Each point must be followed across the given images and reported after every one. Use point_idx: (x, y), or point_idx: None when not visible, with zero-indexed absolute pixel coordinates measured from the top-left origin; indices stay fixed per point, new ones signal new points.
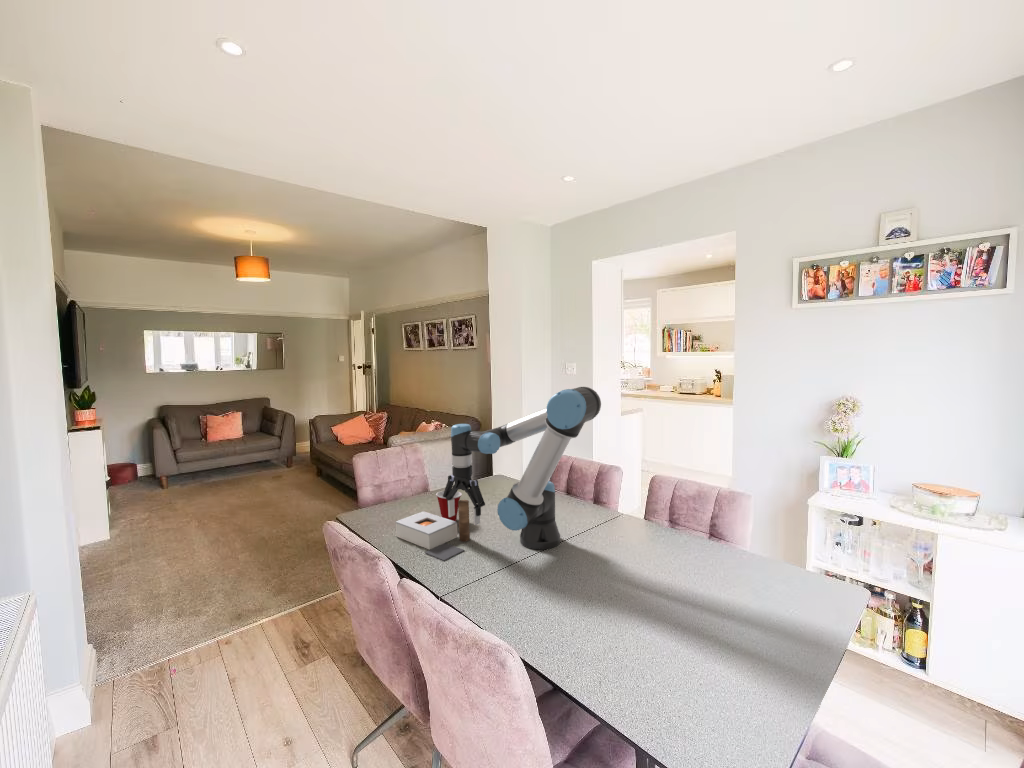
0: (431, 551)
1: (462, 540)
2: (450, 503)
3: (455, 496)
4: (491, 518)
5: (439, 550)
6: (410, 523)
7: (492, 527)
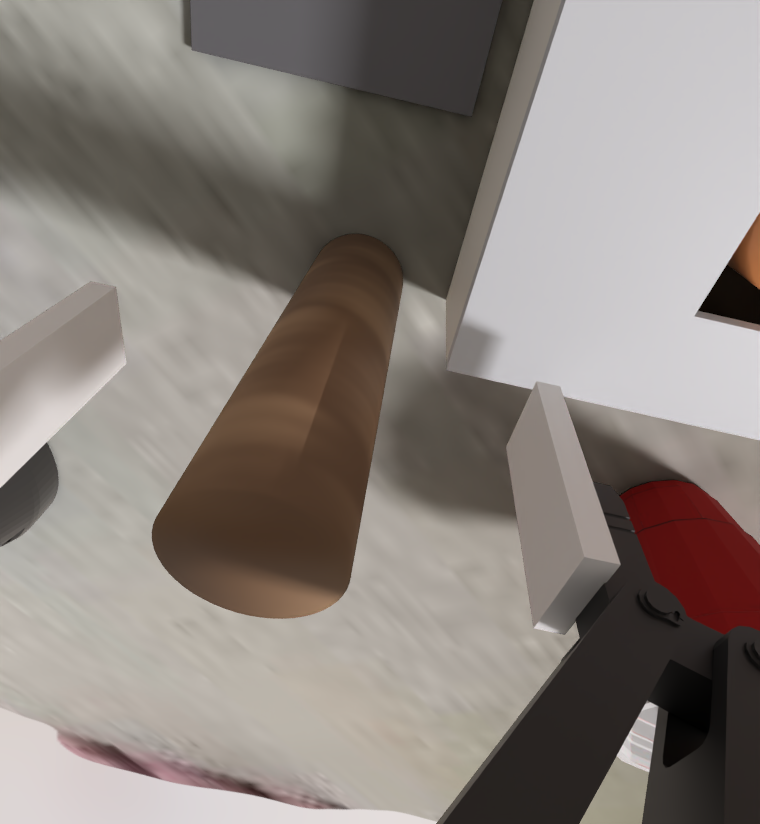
0: None
1: (347, 238)
2: (561, 529)
3: None
4: (394, 593)
5: None
6: None
7: None
